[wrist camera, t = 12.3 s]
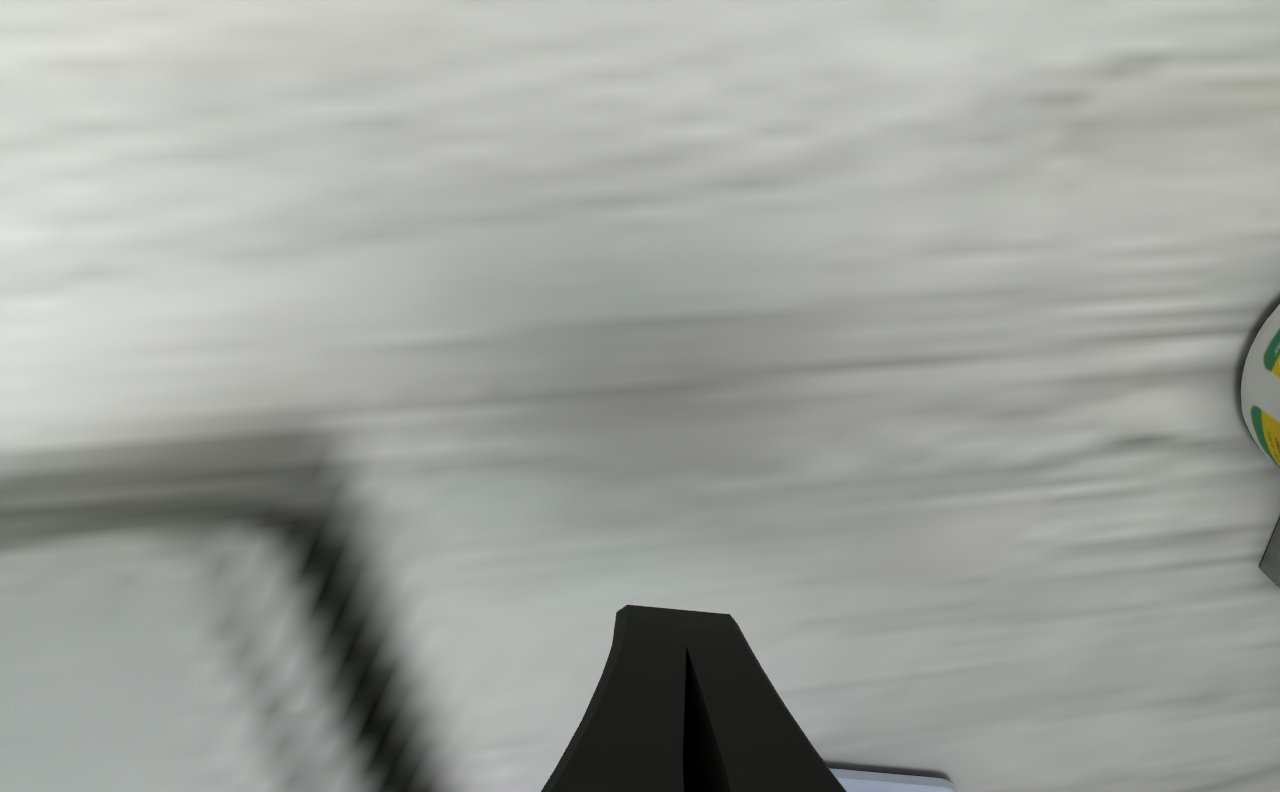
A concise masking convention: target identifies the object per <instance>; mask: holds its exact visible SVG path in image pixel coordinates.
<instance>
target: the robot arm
mask: <svg viewBox="0 0 1280 792" xmlns="http://www.w3.org/2000/svg"><path fill="white" fill-rule="evenodd" d="M541 792H956V790H955V787H954V785H953V784H952V783H951V782H949V781H948V780H946V779H942V778H933V777H922V776H910V775H899V774H888V773H876V772H865V771H854V770H842V769H831V768H828V767H827V765H826V764H825V762H824V761H823V760H822V758H821V757H820V756H819V754H818V753H817V751H816V750H815V749H814V747H813V746H812V744H811V743H810V741H809V740H808V738H807V737H806V736H805V734H804V733H803V731H802V730H801V728H800V727H799V725H798V724H797V722H796V721H795V719H794V718H793V716H792V715H791V713H790V712H789V710H788V709H787V707H786V706H785V704H784V703H783V701H782V700H781V698H780V697H779V695H778V693H777V692H776V690H775V689H774V687H773V685H772V684H771V682H770V680H769V679H768V677H767V675H766V674H765V672H764V670H763V669H762V667H761V665H760V664H759V662H758V660H757V659H756V657H755V655H754V653H753V652H752V650H751V648H750V646H749V644H748V643H747V641H746V639H745V637H744V635H743V634H742V632H741V630H740V628H739V626H738V624H737V623H736V622H735V620H734V619H733V618H732V617H731V615H730V614H720V613H709V612H698V611H688V610H677V609H666V608H656V607H645V606H634V605H626V606H625V607H623V608H622V609H621V610H619V611H618V612H617V613H616V621H615V628H614V635H613V643H612V647H611V650H610V654H609V657H608V660H607V662H606V665H605V668H604V671H603V674H602V676H601V679H600V681H599V683H598V685H597V688H596V690H595V692H594V694H593V697H592V699H591V701H590V703H589V706H588V708H587V710H586V713H585V715H584V717H583V719H582V721H581V723H580V725H579V727H578V728H577V730H576V732H575V734H574V736H573V737H572V739H571V741H570V743H569V745H568V747H567V748H566V750H565V752H564V754H563V756H562V757H561V759H560V761H559V763H558V765H557V766H556V768H555V770H554V772H553V773H552V775H551V776H550V778H549V780H548V781H547V783H546V784H545V786H544V788H543V789H542V791H541Z"/></svg>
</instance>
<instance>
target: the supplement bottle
mask: <svg viewBox="0 0 1280 792" xmlns="http://www.w3.org/2000/svg"><path fill="white" fill-rule="evenodd" d="M1241 403H1242V413H1243V416H1244V420H1245V422H1246V424H1247V427H1248V429H1249V431H1250V433H1251V435H1252V437H1253V438H1254V440H1255V442H1256V443H1257V445H1258V446H1259V448H1260V449H1261V450H1262V451H1263V453H1264V454H1265V455H1266V456H1267V457H1268V458H1269V459H1270V460H1271V461H1272V462H1273V463H1274V464H1275V465H1276V466H1278V467H1279V468H1280V304H1279V305H1278V307H1277V308H1276V309H1275V310H1274V311H1273V313H1272V314H1271V315H1270V316H1269V318H1268V319H1267V320H1266V321H1265V323H1264V324H1263V326H1262V327H1261V329H1260V330H1259V332H1258V334H1257V336H1256V338H1255V340H1254V342H1253V344H1252V346H1251V348H1250V351H1249V353H1248V356H1247V358H1246V362H1245V366H1244V370H1243V375H1242V381H1241Z"/></svg>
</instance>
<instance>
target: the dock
mask: <svg viewBox="0 0 1280 792" xmlns="http://www.w3.org/2000/svg"><path fill="white" fill-rule="evenodd" d="M1259 568H1260V569H1261V570H1262V571H1263V572H1264V573H1265V574H1266V575H1267V576H1268V577H1269V578H1270V579H1271V580H1272V581H1273V582H1274V583H1275V584H1276V585H1277V586H1278V587H1279V588H1280V519H1279V522H1278V524H1277V527H1276V529H1275V531H1274V534H1273V536H1272V539H1271V541H1270V543H1269V546H1268V548H1267V551H1266V553H1265V555H1264V558H1263V560H1262V563H1261V565H1260V567H1259Z"/></svg>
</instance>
